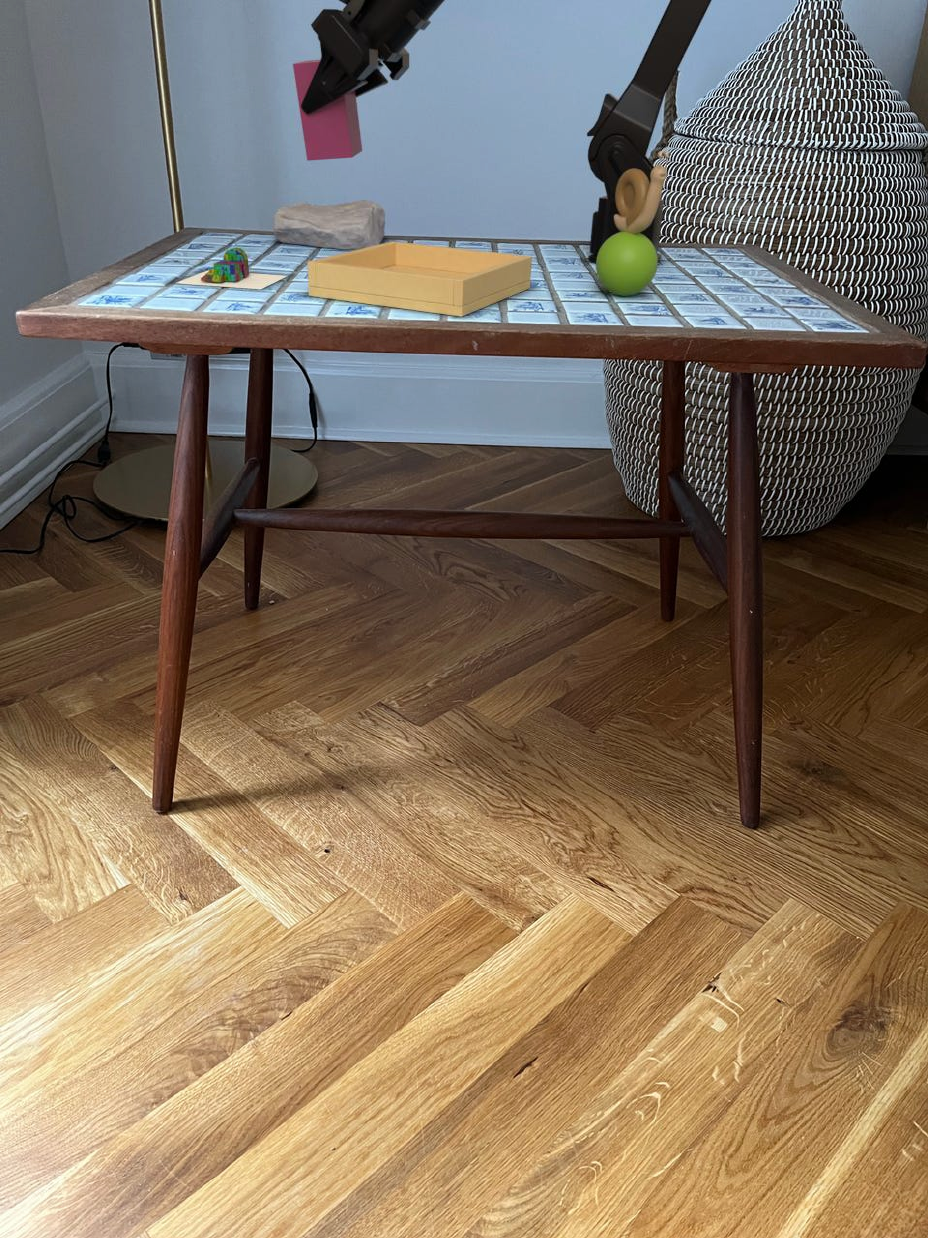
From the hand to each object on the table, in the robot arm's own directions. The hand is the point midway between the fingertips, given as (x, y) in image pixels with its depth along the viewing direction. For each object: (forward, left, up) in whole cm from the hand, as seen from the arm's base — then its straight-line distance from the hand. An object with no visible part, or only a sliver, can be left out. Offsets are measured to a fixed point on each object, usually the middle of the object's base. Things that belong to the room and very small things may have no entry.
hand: (312, 109), depth 101 cm
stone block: (-1, 0, -13) cm, 13 cm away
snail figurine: (-39, +10, -13) cm, 43 cm away
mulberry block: (-2, -1, -4) cm, 5 cm away
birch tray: (-23, +19, -13) cm, 33 cm away
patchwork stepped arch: (-6, +24, -13) cm, 28 cm away
